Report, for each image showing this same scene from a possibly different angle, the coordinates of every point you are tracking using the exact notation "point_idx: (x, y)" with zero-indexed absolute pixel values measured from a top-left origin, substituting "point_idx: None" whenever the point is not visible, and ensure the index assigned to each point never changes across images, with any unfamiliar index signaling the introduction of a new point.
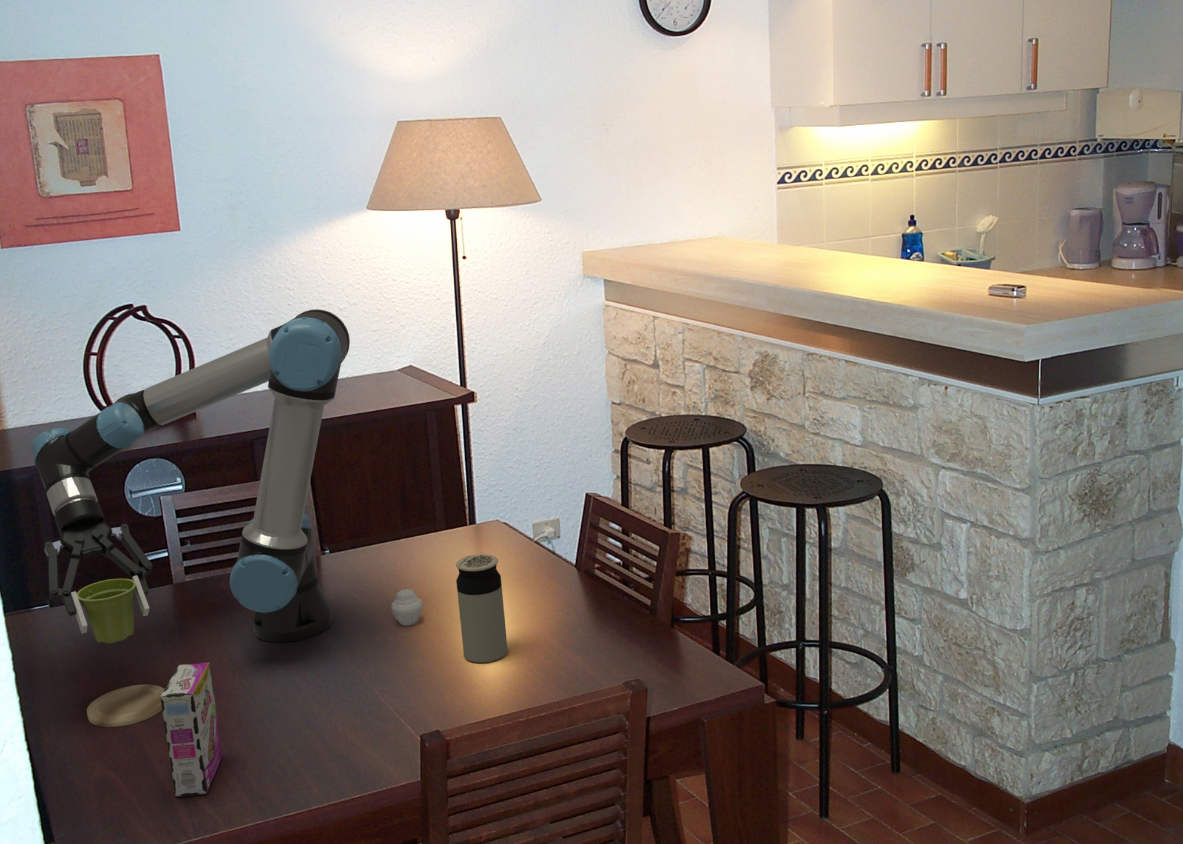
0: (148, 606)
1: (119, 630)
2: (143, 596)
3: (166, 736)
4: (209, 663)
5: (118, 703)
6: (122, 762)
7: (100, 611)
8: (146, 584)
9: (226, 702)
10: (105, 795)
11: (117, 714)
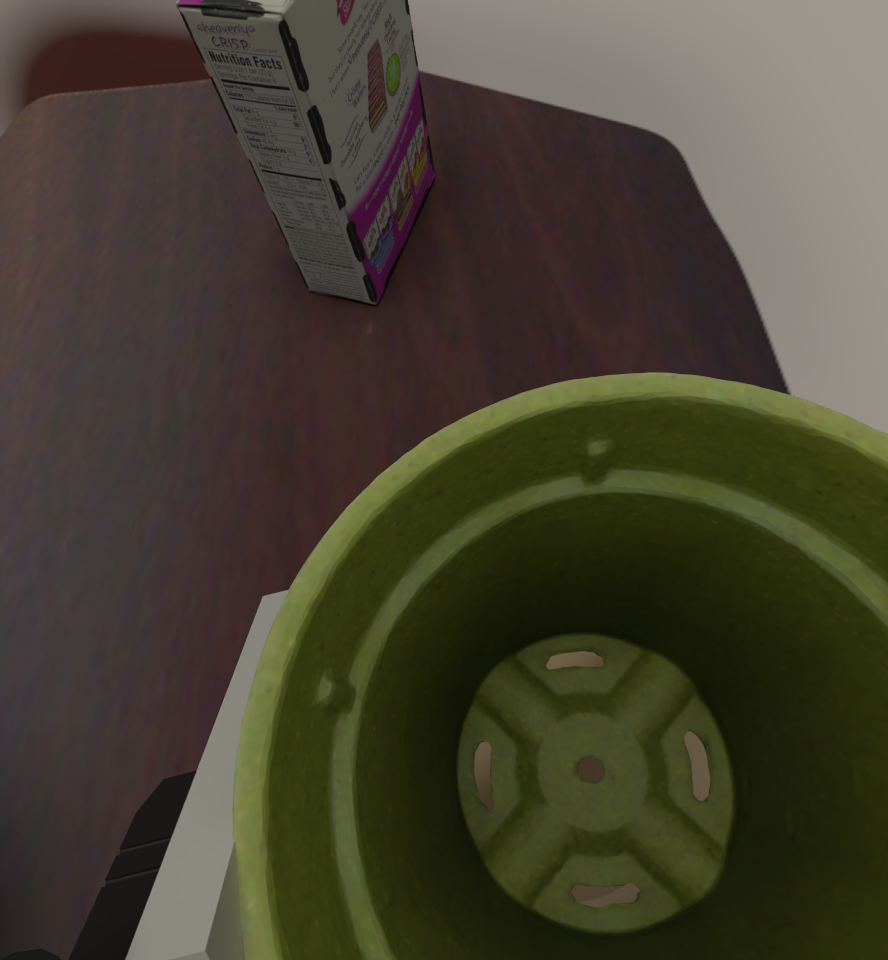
0: (262, 602)
1: (542, 610)
2: (249, 670)
3: (409, 15)
4: (177, 6)
5: (592, 766)
6: (559, 371)
7: (700, 516)
8: (119, 864)
9: (217, 613)
10: (594, 238)
11: (589, 654)
